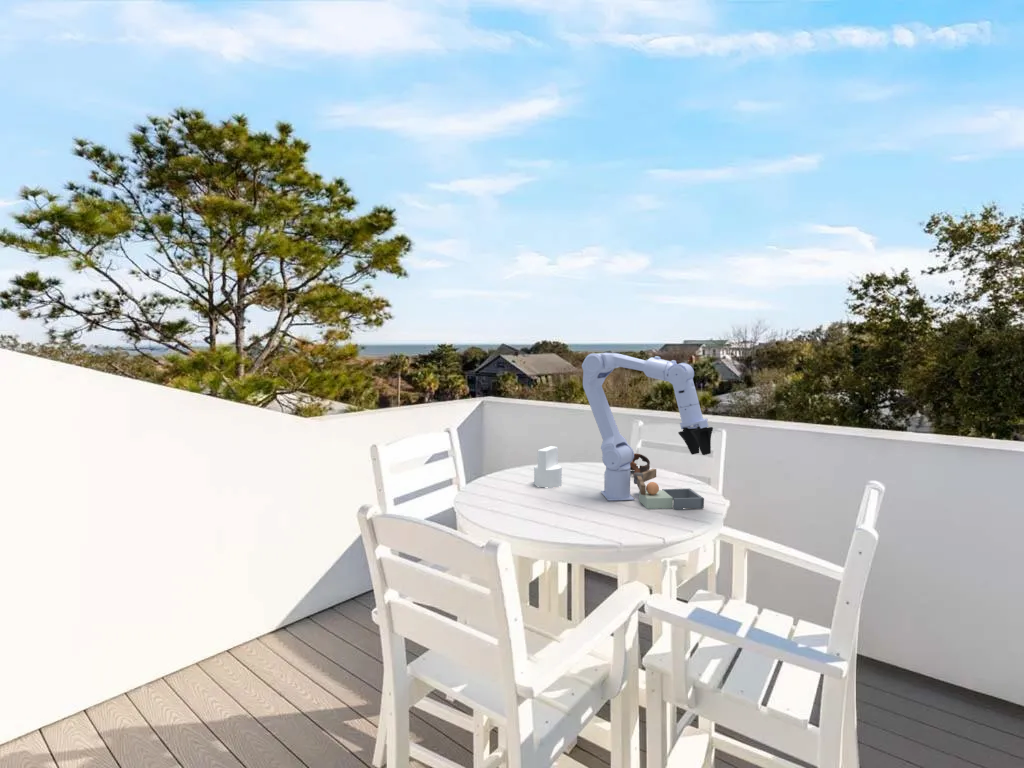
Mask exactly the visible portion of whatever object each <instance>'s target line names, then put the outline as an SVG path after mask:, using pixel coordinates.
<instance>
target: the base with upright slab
mask: <svg viewBox="0 0 1024 768" xmlns="http://www.w3.org/2000/svg"><path fill="white" fill-rule="evenodd" d="M562 468H563V467H562V465H560V464H559V446H554V445H549V446H547V447H543V448H540V449H538V450H537V464H536V465H534V466H533V476H534V477H533V485H534V484H535V485H536V486H539V487H538V488H540V487H548V488H547V489H554V488H553V487H557V488H560V487H562V484H563V479H562V478H563V477H562V476H563V474H562V472H563V471H562V470H563V469H562ZM535 485H534V486H535ZM536 486H535V487H536ZM559 486H560V487H559Z"/></svg>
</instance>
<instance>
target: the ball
mask: <svg viewBox="0 0 1024 768" xmlns="http://www.w3.org/2000/svg"><path fill="white" fill-rule="evenodd" d="M659 490H660V486H659V485H658V483H657V482H655V481H650V482H648V483H647V484H646V491H647V492H648V493H649V494H652V495H654V494H656V493H658V491H659Z"/></svg>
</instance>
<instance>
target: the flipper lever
mask: <svg viewBox="0 0 1024 768" xmlns="http://www.w3.org/2000/svg"><path fill="white" fill-rule="evenodd" d="M633 474H634V476H633V484H634V485H637V489H638V491H640V493H641V495H646V491H647V490H646V486H647V484H646V483H645V482H648V481H650V480H652V479H655V478H657V468H650V469H649V470H648V471H645V472H642V473H634V472H633Z"/></svg>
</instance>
